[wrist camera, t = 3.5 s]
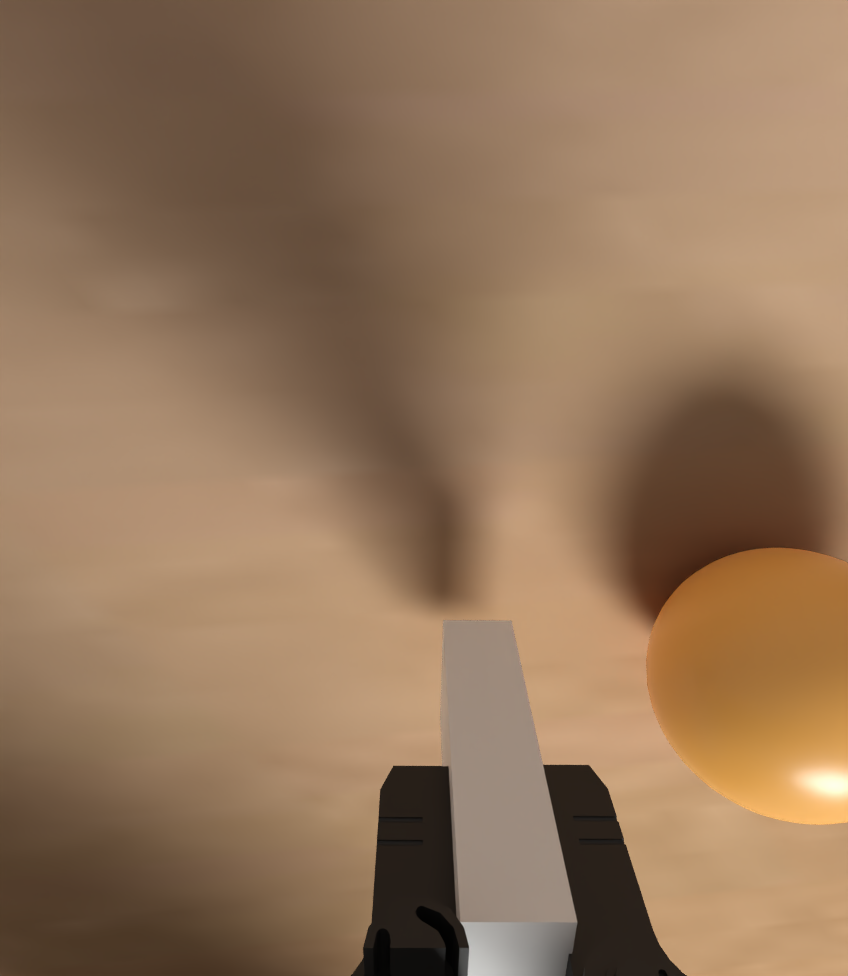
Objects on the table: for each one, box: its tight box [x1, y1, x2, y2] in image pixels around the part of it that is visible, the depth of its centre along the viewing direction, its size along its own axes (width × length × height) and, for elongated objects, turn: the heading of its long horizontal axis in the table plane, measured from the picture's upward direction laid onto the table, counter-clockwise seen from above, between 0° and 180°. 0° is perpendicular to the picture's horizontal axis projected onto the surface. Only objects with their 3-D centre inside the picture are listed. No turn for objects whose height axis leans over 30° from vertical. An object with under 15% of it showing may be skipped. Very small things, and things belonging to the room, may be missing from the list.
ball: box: [646, 548, 848, 825], centre depth 14 cm, size 6×6×6 cm
